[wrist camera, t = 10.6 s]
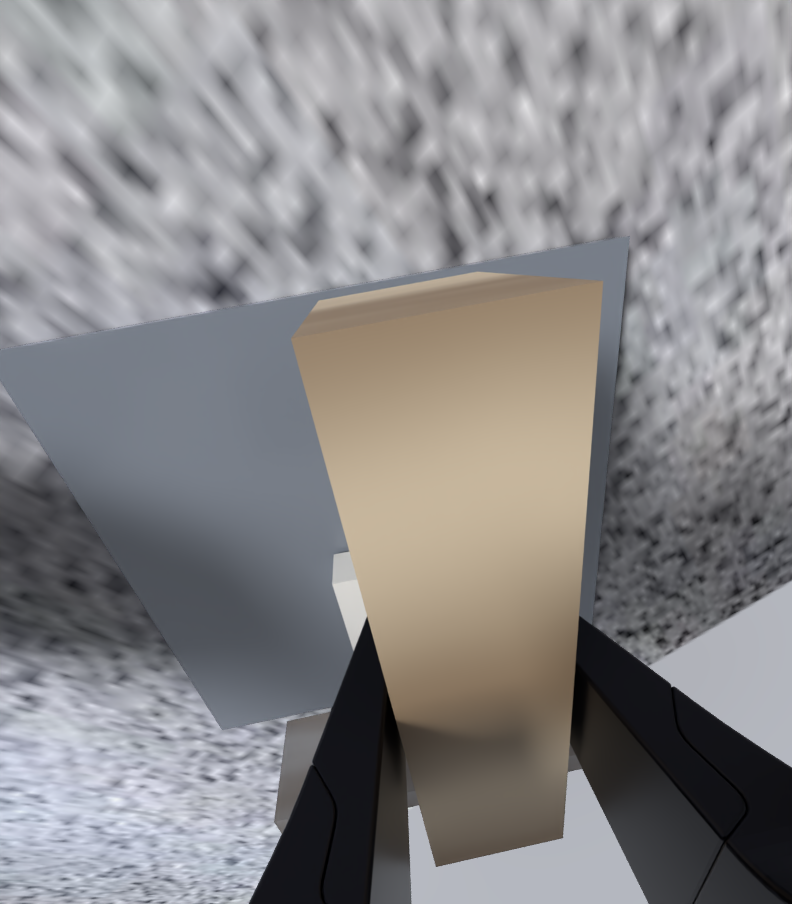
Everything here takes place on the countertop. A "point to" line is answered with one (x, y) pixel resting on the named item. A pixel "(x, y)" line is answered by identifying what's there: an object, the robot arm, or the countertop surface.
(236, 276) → the countertop surface
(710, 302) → the countertop surface
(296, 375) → the slate board
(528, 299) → the block
